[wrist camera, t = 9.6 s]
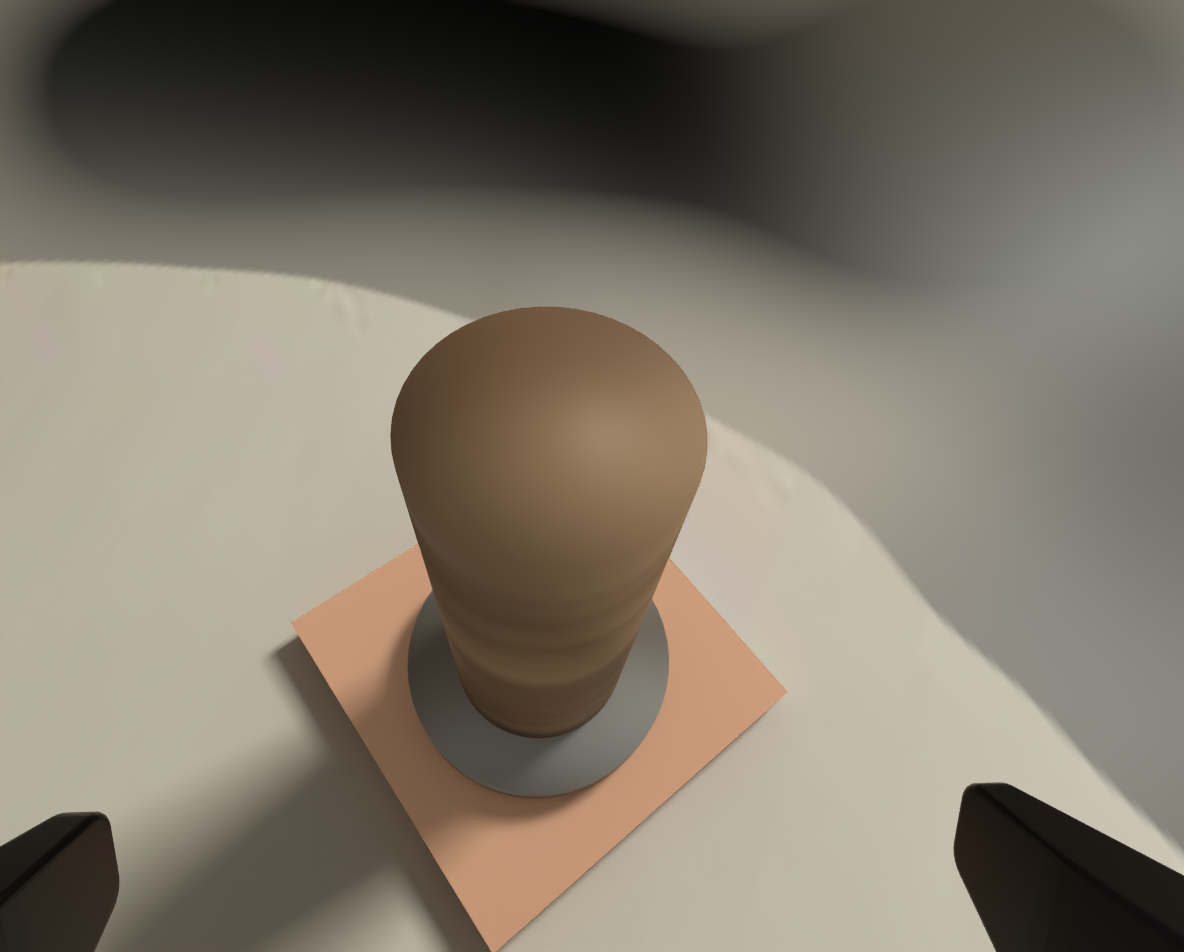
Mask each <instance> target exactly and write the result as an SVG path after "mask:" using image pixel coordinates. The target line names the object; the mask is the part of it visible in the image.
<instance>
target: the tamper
mask: <svg viewBox="0 0 1184 952" xmlns="http://www.w3.org/2000/svg"><path fill="white" fill-rule="evenodd" d="M391 450H392V456H393V461H394V465H395V469H396V473H397V476H398V480H399V483H400V486H401V489H402V492H403V496H404V499H405V502H406V505H407V509H408V512H409V515H410V518H411V522H412V525H413V528H414V531H415V535H416V538H417V541H418V544H419V548H420V551H421V554H422V557H423V561H424V564H425V567H426V570H427V573H428V577H429V580H430V583H431V586H432V591H431V593H430V594H429V596H428V597H427V599H426V600H425V602H424V604H423V606H422V608H421V610H420V612H419V614H418V616H417V619H416V622H415V625H414V628H413V631H412V635H411V639H410V644H409V650H408V665H407V667H408V682H409V688H410V692H411V697H412V701H413V704H414V707H415V710H416V713H417V715H418V718H419V720H420V722H421V724H422V725H423V727H424V729H425V731H426V733H427V735H428V736H429V738H430V740H431V741H432V742H433V744H434V745H435V747H436V748H437V749H438V751H439V752H440V754H441V755H442V756H443V757H444V758H445V759H446V760H447V761H448V762H449V763H450V764H451V765H452V766H453V767H454V768H455V769H457V770H458V771H459V772H460V773H462V774H463V775H464V776H466V777H467V778H469V779H470V780H472V781H474V782H476V783H477V784H479V785H481V786H483V787H485V788H488V789H490V790H493V791H496V792H498V793H502V794H506V795H510V796H515V797H523V798H551V797H557V796H562V795H567V794H571V793H574V792H576V791H579V790H582V789H585V788H587V787H589V786H591V785H593V784H595V783H597V782H599V781H601V780H603V779H604V778H605V777H607V776H608V775H610V774H611V773H613V772H614V771H615V770H617V769H618V768H619V767H620V766H621V765H622V764H623V763H624V762H625V761H626V760H627V759H629V757H630V756H631V755H632V754H633V753H634V751H635V750H636V749H637V748H638V746H639V745H640V744H641V743H642V741H643V740H644V738H645V737H646V735H647V734H648V732H649V730H650V729H651V727H652V726H653V724H654V722H655V720H656V718H657V715H658V713H659V711H660V709H661V706H662V703H663V699H664V696H665V693H666V688H667V682H668V675H669V651H668V642H667V637H666V633H665V629H664V625H663V622H662V619H661V617H660V614H659V612H658V609H657V607H656V605H655V604H654V602H653V600H652V598H653V595H654V593H655V590H656V588H657V586H658V583H659V581H660V578H661V576H662V573H663V571H664V569H665V566H666V564H667V561H668V559H669V557H670V554H671V552H672V549H673V547H674V545H675V542H676V540H677V537H678V535H679V532H680V530H681V528H682V525H683V523H684V520H685V518H686V516H687V513H688V511H689V508H690V506H691V503H692V501H693V499H694V496H695V494H696V491H697V489H698V487H699V484H700V481H701V478H702V475H703V471H704V468H705V463H706V456H707V428H706V422H705V416H704V413H703V410H702V406H701V403H700V400H699V398H698V396H697V394H696V392H695V390H694V388H693V386H692V384H691V382H690V381H689V379H688V378H687V376H686V375H685V373H684V372H683V370H682V369H681V368H680V367H679V365H678V364H677V363H676V362H675V361H674V360H673V358H672V357H671V356H670V355H669V354H667V353H666V352H665V351H664V350H663V349H662V348H661V347H660V346H659V345H657V344H656V343H655V342H653V341H652V340H650V339H649V338H648V337H646V336H645V335H643V334H642V333H640V332H638V331H636V330H635V329H633V328H631V327H629V326H627V325H625V324H623V323H620V322H618V321H616V320H614V319H611V318H608V317H605V316H602V315H599V314H596V313H592V312H587V311H582V310H578V309H571V308H562V307H530V308H520V309H514V310H509V311H504V312H500V313H496V314H493V315H490V316H486V317H483V318H481V319H479V320H476V321H474V322H471V323H469V324H467V325H465V326H463V327H461V328H460V329H458V330H456V331H454V332H453V333H451V334H449V335H448V336H447V337H445V338H444V339H443V340H441V341H440V342H438V343H437V344H436V345H435V346H434V347H433V348H432V349H431V350H429V351H428V352H427V353H426V354H425V355H424V356H423V357H422V359H421V360H420V361H419V362H418V363H417V365H416V366H415V367H414V368H413V370H412V371H411V373H410V374H409V376H408V378H407V379H406V381H405V383H404V384H403V386H402V389H401V391H400V393H399V396H398V398H397V401H396V404H395V408H394V412H393V416H392V424H391Z"/></svg>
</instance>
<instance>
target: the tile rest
mask: <svg viewBox="0 0 1184 952" xmlns="http://www.w3.org/2000/svg"><path fill="white" fill-rule="evenodd" d="M431 591H432V586H431V583H430V580H429V577H428V573H427V570H426V567H425V564H424V561H423V557H422V554H421V551H420V548H419V544H417V545H415V546H414V547H412V548H411V549H409V550H407V551H406V552H404V553H403V554H401V555H399V556H398V557H396V558H394V559H393V560H391V561H390V562H388V563H386V564H385V565H383V566H382V567H380V568H378V569H377V570H375V571H374V572H372V573H370V574H369V575H367V576H366V577H364V578H362V579H361V580H359V581H357V582H356V583H354V584H353V585H351V586H349V587H348V588H346V589H345V590H343V591H341V592H340V593H338V594H337V595H335V596H333V597H332V598H330V599H329V600H327V601H325V602H324V603H322V604H320V605H319V606H317V607H316V608H314V609H312V610H311V611H309V612H308V613H306V614H304V615H303V616H301V617H300V618H298V619H296V620H295V621H293V622H292V623H291V624H292V625H293V627H294V629H295V630H296V632H297V634H298V635H299V637H300V639H301V640H302V642H303V644H304V645H305V647H306V648H307V650H308V652H309V653H310V655H311V657H312V658H313V660H314V662H315V663H316V665H317V666H318V668H319V670H320V671H321V673H322V675H323V676H324V678H325V680H326V681H327V683H328V684H329V686H330V688H331V689H332V691H333V693H334V694H335V696H336V698H337V699H338V701H339V703H340V704H341V706H342V707H343V709H344V711H345V712H346V714H347V716H348V717H349V719H350V721H351V722H352V724H353V725H354V727H355V729H356V730H357V732H358V734H359V735H360V737H361V739H362V740H363V742H364V744H365V745H366V747H367V748H368V750H369V752H370V753H371V755H372V757H373V758H374V760H375V762H376V763H377V765H378V766H379V768H380V770H381V771H382V773H383V775H384V776H385V778H386V780H387V781H388V783H389V784H390V786H391V788H392V789H393V791H394V793H395V794H396V796H397V798H398V799H399V801H400V803H401V804H402V806H403V807H404V809H405V811H406V812H407V814H408V816H409V817H410V819H411V821H412V822H413V824H414V825H415V827H416V829H417V830H418V832H419V834H420V835H421V837H422V839H423V840H424V842H425V844H426V845H427V847H428V848H429V850H430V852H431V853H432V855H433V857H434V858H435V860H436V862H437V863H438V865H439V866H440V868H441V870H442V871H443V873H444V875H445V876H446V878H447V880H448V881H449V883H450V885H451V886H452V888H453V889H454V891H455V893H456V894H457V896H458V898H459V899H460V901H461V903H462V904H463V906H464V907H465V909H466V911H467V912H468V914H469V916H470V917H471V919H472V921H473V922H474V924H475V925H476V927H477V929H478V930H479V932H480V934H481V935H482V937H483V939H484V940H485V942H486V944H487V945H488V947H489V948H490V950H491V952H496V951H497V950H498V949H499V948H501V947H502V946H503V945H504V944H505V943H506V942H507V941H508V940H510V939H511V938H512V937H513V936H514V935H515V934H516V933H517V932H519V931H520V930H521V929H522V928H523V927H524V926H525V925H526V924H528V923H529V922H530V921H531V920H532V919H533V918H534V917H535V916H537V915H538V914H539V913H540V912H541V911H542V910H543V909H544V908H546V907H547V906H548V905H549V904H550V903H551V902H552V901H553V900H555V899H556V898H557V897H558V896H559V895H560V894H561V893H562V892H564V891H565V890H566V889H567V888H568V887H569V886H570V885H571V884H573V883H574V882H575V881H576V880H577V879H578V878H579V877H580V876H582V875H583V874H584V873H585V872H586V871H587V870H588V869H589V868H590V867H592V866H593V865H594V864H595V863H596V862H597V861H598V860H599V859H601V858H602V857H603V856H604V855H605V854H606V853H607V852H608V851H610V850H611V849H612V848H613V847H614V846H615V845H616V844H617V843H619V842H620V841H621V840H622V839H623V838H624V837H625V836H626V835H628V834H629V833H630V832H631V831H632V830H633V829H634V828H635V827H637V826H638V825H639V824H640V823H641V822H642V821H643V820H644V819H646V818H647V817H648V816H649V815H650V814H651V813H652V812H653V811H655V810H656V809H657V808H658V807H659V806H660V805H661V804H662V803H664V802H665V801H666V800H667V799H668V798H669V797H670V796H671V795H673V794H674V793H675V792H676V791H677V790H678V789H679V788H680V787H682V786H683V785H684V784H685V783H686V782H687V781H688V780H689V779H690V778H692V777H693V776H694V775H695V774H696V773H697V772H698V771H699V770H701V769H702V768H703V767H704V766H705V765H706V764H707V763H708V762H710V761H711V760H712V759H713V758H714V757H715V756H716V755H717V754H719V753H720V752H721V751H722V750H723V749H724V748H725V747H726V746H728V745H729V744H730V743H731V742H732V741H733V740H734V739H735V738H737V737H738V736H739V735H740V734H741V733H742V732H743V731H744V730H746V729H747V728H748V727H749V726H750V725H751V724H752V723H753V722H755V721H756V720H757V719H758V718H759V717H760V716H761V715H762V714H764V713H765V712H766V711H767V710H768V709H769V708H770V707H771V706H773V705H774V704H775V703H776V702H777V701H778V700H779V699H780V698H781V697H783V696H784V695H785V694H786V693H787V691H786V690H785V688H784V687H783V686H782V685H781V684H780V683H779V682H778V681H777V679H776V678H775V677H774V676H773V675H772V674H771V673H770V671H769V670H768V669H767V668H766V667H765V666H764V665H763V663H762V662H761V661H760V660H759V659H758V658H757V657H756V656H755V654H754V653H753V652H752V651H751V650H750V649H749V648H748V646H747V645H746V644H745V643H744V642H743V641H742V640H741V638H740V637H739V636H738V635H737V634H736V633H735V632H734V631H733V629H732V628H731V627H730V626H729V625H728V624H727V623H726V621H725V620H724V619H723V618H722V617H721V616H720V615H719V614H718V612H717V611H716V610H715V609H714V608H713V607H712V606H711V604H710V603H709V602H708V601H707V600H706V599H705V598H704V596H703V595H702V594H701V593H700V592H699V591H698V590H697V589H696V587H695V586H694V585H693V584H692V583H691V582H690V581H689V579H688V578H687V577H686V576H685V575H684V574H683V573H682V571H681V570H680V569H679V568H678V567H677V566H676V565H675V564H674V562H673V561H672V560H671V559H670V558H669V559H668V561H667V564H666V566H665V569H664V571H663V573H662V576H661V578H660V581H659V583H658V586H657V588H656V590H655V593H654V595H653V598H652V600H653V602H654V604H655V605H656V607H657V609H658V612H659V614H660V617H661V619H662V622H663V625H664V629H665V633H666V637H667V642H668V651H669V675H668V682H667V688H666V693H665V696H664V699H663V703H662V706H661V709H660V711H659V713H658V715H657V718H656V720H655V722H654V724H653V726H652V727H651V729H650V730H649V732H648V734H647V735H646V737H645V738H644V740H643V741H642V743H641V744H640V745H639V746H638V748H637V749H636V750H635V751H634V753H633V754H632V755H631V756H630V757H629V759H627V760H626V761H625V762H624V763H623V764H622V765H621V766H620V767H619V768H618V769H617V770H615V771H614V772H613V773H611V774H610V775H608V776H607V777H605V778H604V779H603V780H601V781H599V782H597V783H595V784H593V785H591V786H589V787H587V788H585V789H582V790H579V791H576V792H574V793H571V794H567V795H562V796H557V797H551V798H523V797H515V796H510V795H506V794H502V793H498V792H496V791H493V790H490V789H488V788H485V787H483V786H481V785H479V784H477V783H476V782H474V781H472V780H470V779H469V778H467V777H466V776H464V775H463V774H462V773H460V772H459V771H458V770H457V769H455V768H454V767H453V766H452V765H451V764H450V763H449V762H448V761H447V760H446V759H445V758H444V757H443V756H442V755H441V754H440V752H439V751H438V749H437V748H436V747H435V745H434V744H433V742H432V741H431V740H430V738H429V736H428V735H427V733H426V731H425V729H424V727H423V725H422V724H421V722H420V720H419V718H418V715H417V713H416V710H415V707H414V704H413V701H412V697H411V692H410V688H409V682H408V667H407V665H408V650H409V644H410V639H411V635H412V631H413V628H414V625H415V622H416V619H417V616H418V614H419V612H420V610H421V608H422V606H423V604H424V602H425V600H426V599H427V597H428V596H429V594H430V593H431Z"/></svg>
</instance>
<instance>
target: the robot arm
mask: <svg viewBox="0 0 1184 952" xmlns="http://www.w3.org/2000/svg"><path fill="white" fill-rule="evenodd" d="M954 858H955V862H956V866H957V869H958V871H959V874H960V876H961V878H962V880H963V882H964V884H965V887H966V889H967V891H968V893H969V895H970V897H971V899H972V902H973V904H974V906H975V908H976V910H977V912H978V914H979V916H980V919H981V921H982V923H983V925H984V927H985V929H986V931H987V933H988V936H989V938H990V940H991V942H992V944H993V946H994V948H995V951H996V952H1184V875H1182V874H1180V873H1178V872H1176V871H1174V870H1172V869H1170V868H1168V867H1167V866H1165V865H1163V864H1161V863H1159V862H1157V861H1155V860H1153V859H1151V858H1149V857H1147V856H1146V855H1144V854H1142V853H1140V852H1138V851H1136V850H1134V849H1132V848H1130V847H1128V846H1126V845H1125V844H1123V843H1121V842H1119V841H1117V840H1115V839H1113V838H1111V837H1109V836H1107V835H1105V834H1103V833H1102V832H1100V831H1098V830H1096V829H1094V828H1092V827H1090V826H1088V825H1086V824H1084V823H1082V822H1081V821H1079V820H1077V819H1075V818H1073V817H1071V816H1069V815H1067V814H1065V813H1063V812H1061V811H1060V810H1058V809H1056V808H1054V807H1052V806H1050V805H1048V804H1046V803H1044V802H1042V801H1040V800H1039V799H1037V798H1035V797H1033V796H1031V795H1029V794H1027V793H1025V792H1023V791H1021V790H1019V789H1017V788H1016V787H1014V786H1012V785H1009V784H1006V783H999V782H998V783H974V784H971V785H969V786H967V787H966V789H965V790H964V792H963V796H962V801H961V806H960V812H959V817H958V823H957V829H956V834H955V840H954ZM118 891H119V872H118V867H117V861H116V855H115V849H114V843H113V837H112V831H111V825H110V822H109V819H108V818H107V816H106V815H105V814H103V813H101V812H69V813H61V814H57V815H55V816H53V817H51V818H49V819H48V820H46V821H44V822H42V823H41V824H39V825H37V826H35V827H34V828H32V829H30V830H28V831H27V832H25V833H23V834H21V835H20V836H18V837H16V838H14V839H13V840H11V841H9V842H7V843H6V844H4V845H2V846H0V952H94V951H95V949H96V947H97V945H98V942H99V940H100V938H101V936H102V933H103V931H104V929H105V927H106V924H107V922H108V920H109V918H110V915H111V913H112V911H113V909H114V906H115V903H116V900H117V896H118Z"/></svg>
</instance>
